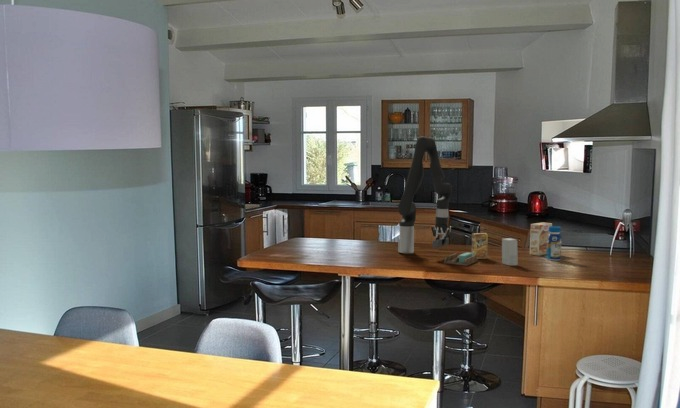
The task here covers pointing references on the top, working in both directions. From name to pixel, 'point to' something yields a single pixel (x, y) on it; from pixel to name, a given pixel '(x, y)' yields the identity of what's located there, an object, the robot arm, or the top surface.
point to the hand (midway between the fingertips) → (440, 244)
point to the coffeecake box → (539, 238)
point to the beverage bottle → (554, 243)
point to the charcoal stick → (439, 242)
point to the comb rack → (455, 260)
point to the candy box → (479, 245)
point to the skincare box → (509, 251)
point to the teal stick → (464, 256)
